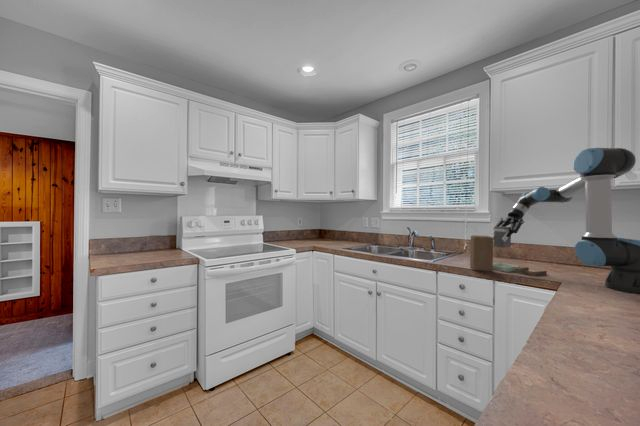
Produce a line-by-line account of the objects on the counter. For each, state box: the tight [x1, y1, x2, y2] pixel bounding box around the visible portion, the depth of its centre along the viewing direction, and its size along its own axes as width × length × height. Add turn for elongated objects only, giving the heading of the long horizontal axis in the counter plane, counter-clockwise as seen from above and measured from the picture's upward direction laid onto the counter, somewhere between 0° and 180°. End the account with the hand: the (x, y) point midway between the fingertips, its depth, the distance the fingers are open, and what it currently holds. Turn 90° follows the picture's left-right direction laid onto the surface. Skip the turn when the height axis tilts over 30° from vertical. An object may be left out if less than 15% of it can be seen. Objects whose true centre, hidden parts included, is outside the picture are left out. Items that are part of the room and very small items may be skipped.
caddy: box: [493, 226, 512, 249], centre depth 169 cm, size 6×6×12 cm
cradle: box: [514, 266, 547, 277], centre depth 158 cm, size 10×10×2 cm
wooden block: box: [469, 234, 494, 273], centre depth 166 cm, size 10×10×20 cm
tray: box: [493, 262, 521, 273], centre depth 168 cm, size 12×12×2 cm
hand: (498, 239), depth 168 cm, fingers closed on caddy, 6 cm apart
